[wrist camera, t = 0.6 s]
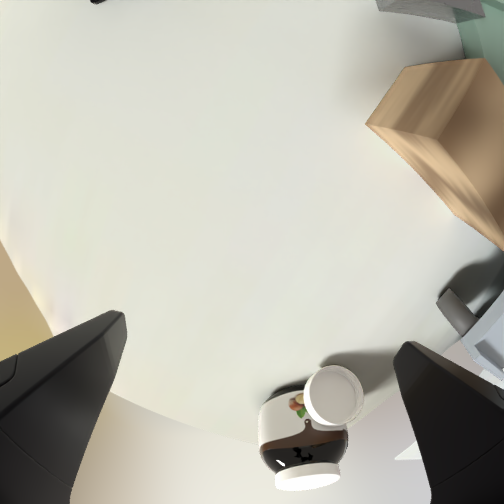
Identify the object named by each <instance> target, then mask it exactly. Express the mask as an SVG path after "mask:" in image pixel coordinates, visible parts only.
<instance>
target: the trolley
mask: <svg viewBox="0 0 504 504" xmlns="http://www.w3.org/2000/svg"><path fill="white" fill-rule="evenodd" d="M503 252H504V251H503ZM436 304H437V306H438V308H439V309H440V311H441V312H442V313H443V315H444V316H445V317H446V318H447V320H448V321H449V322H450V323H451V325H452V326H453V327H454V328H455V329H456V330H457V332H458V333H459V334H460V335H461V336H462V337H463V338H462V339H461V342H462V343H463V345H464V346H465V348H466V350H467V351H468V353H469V354H470V356H471V357H472V359H473V360H474V361H475V362H476V363H477V364H479V365H480V366H482V367H483V368H485V369H486V370H487V371H489V372H490V373H492V374H493V375H494V376H496V377H497V378H499V379H500V380H501V381H502V380H503V379H504V371H503V370H502V369H503V368H504V291H503V292H502V293H501V294H500V296H499V297H498V298H497V299H496V301H495V302H494V303H493V304H492V306H491V307H490V308H489V309H488V310H487V312H486V313H485V314H484V315H483V316H482V317H481V318H480V319H479V318H478V317H475V315H474V314H473V313H472V312H471V311H470V309H469V308H468V307H467V306H466V305H465V304H464V303H463V301H462V300H461V299H460V298H459V297H458V296H457V295H456V294H455V293H454V292H453V291H452V290H451V289H450V288H448V289H447V291H446V292H445V293H444V294H443V295H442V296H441V297H440V299H439V300H438V301H437V302H436Z"/></svg>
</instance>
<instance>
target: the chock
mask: <svg viewBox="0 0 504 504" xmlns="http://www.w3.org/2000/svg"><path fill="white" fill-rule="evenodd" d="M365 125H367V126H368V127H369V128H370V129H371V130H372V131H374V132H375V133H376V134H377V135H378V136H379V137H380V138H381V139H383V140H384V141H385V142H386V143H387V144H388V145H389V146H390V147H391V148H392V149H393V150H394V151H396V152H397V153H398V154H399V155H400V156H401V157H402V158H403V159H404V160H405V161H406V162H407V163H408V164H409V165H410V166H411V167H412V168H413V169H414V170H415V171H416V172H417V173H418V174H419V175H420V176H421V177H422V179H423V180H424V181H425V182H426V183H427V184H428V185H429V186H430V187H431V188H432V189H433V190H434V192H435V193H436V194H437V195H438V196H439V197H440V198H441V200H442V201H443V202H444V203H445V204H446V205H447V207H448V208H449V209H450V210H451V211H452V213H453V214H454V215H455V216H457V217H458V218H460V219H461V220H463V221H464V222H466V223H467V224H468V225H470V226H471V227H473V228H474V229H475V230H477V231H478V232H479V233H481V234H482V235H483V236H485V237H486V238H487V239H489V240H490V241H491V242H492V243H494V244H495V245H496V246H497V247H499V248H500V249H501V250H502V251H504V85H503V83H502V82H501V80H500V79H499V77H498V76H497V74H496V73H495V71H494V70H493V68H492V67H491V66H490V64H489V63H488V61H487V60H486V59H485V58H477V59H463V60H452V61H443V62H435V63H428V64H421V65H415V66H409V67H405V68H404V69H403V70H402V72H401V73H400V75H399V76H398V78H397V79H396V80H395V82H394V83H393V85H392V86H391V88H390V89H389V90H388V92H387V93H386V95H385V96H384V98H383V99H382V100H381V102H380V103H379V105H378V106H377V107H376V109H375V110H374V112H373V113H372V115H371V116H370V117H369V119H368V120H367V122H366V123H365Z"/></svg>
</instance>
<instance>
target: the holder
mask: <svg viewBox="0 0 504 504" xmlns="http://www.w3.org/2000/svg"><path fill="white" fill-rule="evenodd" d="M376 2H377V5H378V8H379V11H385V12H395V13H404V14H411V15H418V16H424V17H429V18H434V19H439V20H444V21H448V22H453V23H461V22H466V21H470V20H475V19H480V18H485V17H486V16H485V13H484V10H483V7H482V4H481V2H480V0H376Z"/></svg>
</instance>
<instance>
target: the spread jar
mask: <svg viewBox="0 0 504 504" xmlns="http://www.w3.org/2000/svg"><path fill="white" fill-rule="evenodd" d="M363 401H364V393H363V389H362V386H361V383H360V381H359V380H358V378H357V377H356V376H355V375H354V374H353V373H352V372H351V371H350V370H348V369H346V368H345V367H342V366H337V365H330V366H326V367H323V368H322V369H320V370H318V371H317V372H316V373H314V374H313V375H312V376H311V377H310V378H309V379H308V381H307V383H306V385H300V386H293V387H289V388H286V389H284V390H281V391H279V392H277V393H275V394H274V395H272V396H271V397H269V398H268V399H267V400H266V401H265V402H264V404H263V405H262V407H261V409H260V412H259V418H258V441H259V450H260V455H261V458H262V460H263V461H264V463H265V464H266V466H267V467H268V468H269V469H270V470H272V471H273V472H275V473H276V474H275V483H276V487H277V488H278V489H281V490H288V491H297V490H308V489H314V488H319V487H322V486H326V485H329V484H331V483H334V482H335V481H337V480H338V479H340V477H341V476H340V470H339V466H338V463H339V462H340V460H341V459H342V457H343V456H344V454H345V452H346V449H347V447H348V430H347V425H346V423H348V422H351V421H352V420H353V419H355V418H356V417H357V416H358V414H359V413H360V411H361V409H362V406H363Z"/></svg>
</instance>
